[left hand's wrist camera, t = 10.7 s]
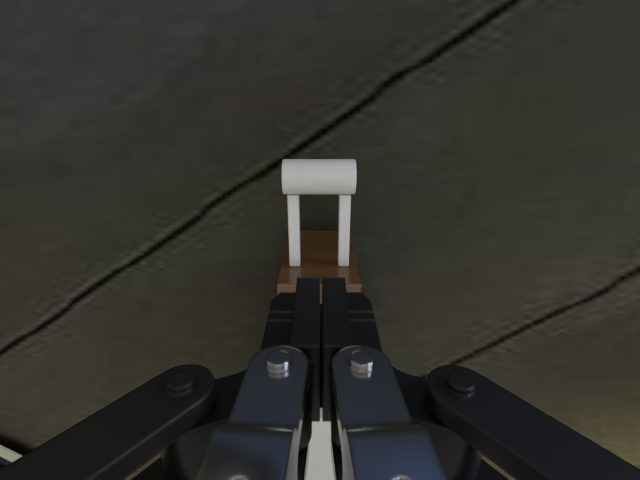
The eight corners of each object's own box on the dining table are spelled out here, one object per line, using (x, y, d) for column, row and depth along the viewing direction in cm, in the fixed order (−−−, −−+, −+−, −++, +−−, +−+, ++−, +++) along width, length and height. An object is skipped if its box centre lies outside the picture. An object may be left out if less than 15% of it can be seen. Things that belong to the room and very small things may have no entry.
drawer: (285, 143, 25) (270, 168, 18) (353, 143, 25) (366, 168, 18) (293, 405, 33) (286, 497, 26) (345, 405, 33) (352, 497, 26)
